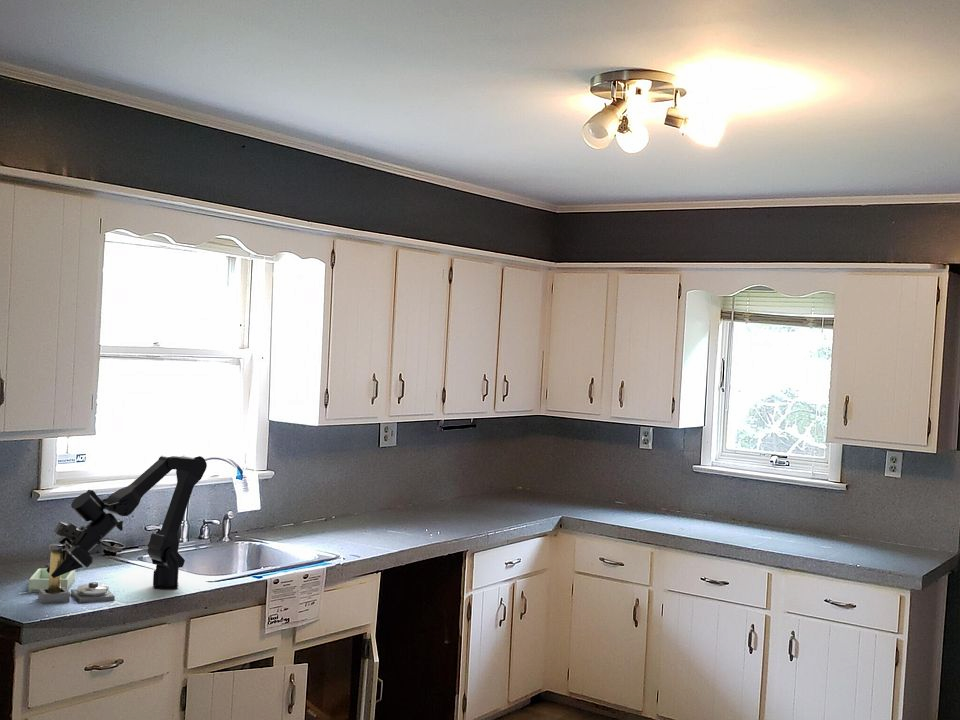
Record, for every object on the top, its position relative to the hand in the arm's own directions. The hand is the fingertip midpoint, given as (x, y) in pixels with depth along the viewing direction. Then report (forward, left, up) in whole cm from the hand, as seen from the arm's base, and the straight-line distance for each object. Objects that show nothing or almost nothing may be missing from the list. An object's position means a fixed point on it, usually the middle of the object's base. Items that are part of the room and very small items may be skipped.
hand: (49, 574), depth 265 cm
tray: (+2, -16, -7) cm, 18 cm away
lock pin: (-1, 0, -7) cm, 7 cm away
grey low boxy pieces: (-7, -2, -7) cm, 10 cm away
